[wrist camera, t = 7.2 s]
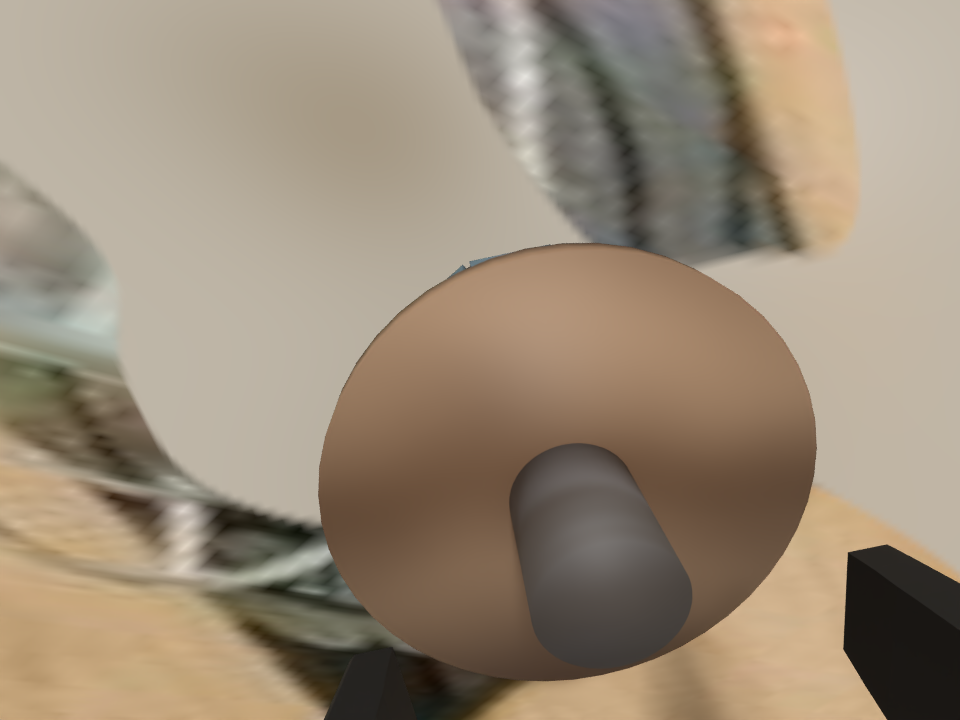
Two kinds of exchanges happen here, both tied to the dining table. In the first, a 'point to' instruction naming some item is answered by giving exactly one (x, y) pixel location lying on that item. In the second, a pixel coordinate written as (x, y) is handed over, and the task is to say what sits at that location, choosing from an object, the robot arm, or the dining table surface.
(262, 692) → the dining table surface
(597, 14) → the dining table surface
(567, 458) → the lid
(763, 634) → the dining table surface
